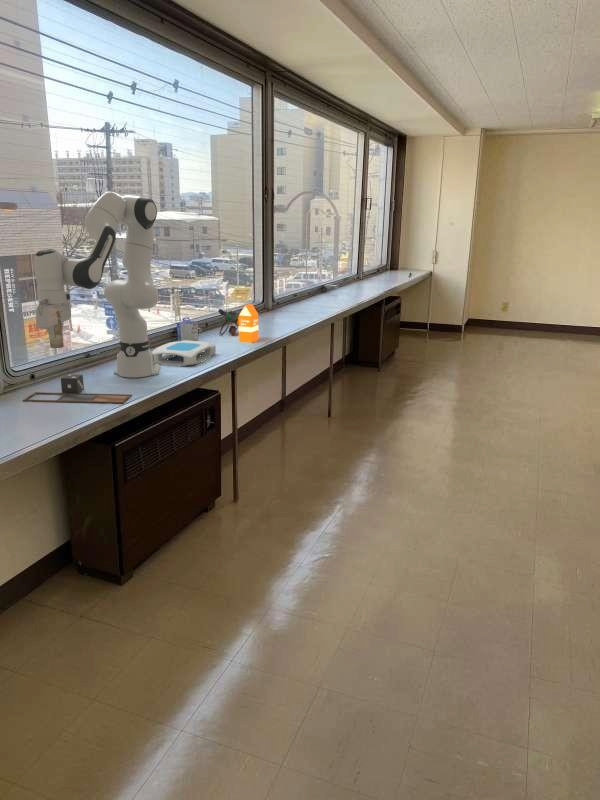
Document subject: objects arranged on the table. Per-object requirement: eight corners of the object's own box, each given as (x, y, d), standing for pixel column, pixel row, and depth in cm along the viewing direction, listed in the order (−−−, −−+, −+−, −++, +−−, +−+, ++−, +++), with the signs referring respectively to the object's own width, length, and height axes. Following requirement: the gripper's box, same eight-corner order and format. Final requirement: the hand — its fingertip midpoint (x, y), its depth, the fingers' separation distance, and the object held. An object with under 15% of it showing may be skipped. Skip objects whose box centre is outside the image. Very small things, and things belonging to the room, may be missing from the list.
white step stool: (149, 364, 270) (148, 350, 268) (177, 351, 296) (176, 339, 294) (191, 367, 265) (191, 354, 263) (216, 354, 291) (216, 342, 289)
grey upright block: (194, 343, 314) (193, 316, 310) (199, 345, 310) (198, 317, 305) (177, 345, 308) (176, 317, 304) (181, 347, 304) (180, 319, 300)
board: (35, 393, 222) (35, 392, 221) (131, 395, 221) (131, 394, 221) (22, 401, 212) (22, 400, 212) (123, 403, 212) (123, 402, 211)
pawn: (53, 345, 214) (49, 307, 210) (66, 345, 214) (62, 307, 210) (47, 348, 209) (43, 309, 205) (60, 348, 209) (56, 309, 205)
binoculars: (232, 343, 334) (245, 320, 332) (210, 330, 329) (223, 307, 327) (228, 338, 347) (241, 316, 345) (208, 326, 342) (221, 303, 340)
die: (68, 389, 228) (67, 373, 226) (84, 389, 228) (82, 374, 226) (62, 393, 222) (60, 378, 221) (78, 394, 222) (76, 378, 220)
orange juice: (238, 342, 320) (238, 304, 314) (245, 339, 328) (245, 302, 322) (251, 343, 318) (251, 305, 312) (258, 340, 326) (258, 303, 320)
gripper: (47, 302, 196) (52, 343, 200) (72, 294, 216) (76, 331, 220) (28, 301, 196) (33, 342, 201) (55, 293, 216) (59, 331, 220)
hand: (56, 336), depth 210 cm, fingers closed on pawn, 4 cm apart
